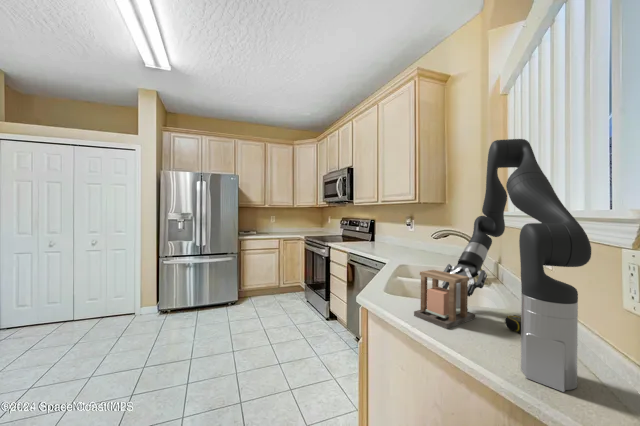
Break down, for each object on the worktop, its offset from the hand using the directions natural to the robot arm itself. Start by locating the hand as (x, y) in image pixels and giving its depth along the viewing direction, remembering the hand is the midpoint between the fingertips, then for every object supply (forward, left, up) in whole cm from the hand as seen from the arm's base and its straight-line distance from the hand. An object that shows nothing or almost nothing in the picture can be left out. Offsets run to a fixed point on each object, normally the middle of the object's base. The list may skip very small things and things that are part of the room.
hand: (455, 291), depth 93 cm
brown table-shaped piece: (-7, +1, -8) cm, 10 cm away
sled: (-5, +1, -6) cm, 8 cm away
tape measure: (+2, -18, -8) cm, 20 cm away
